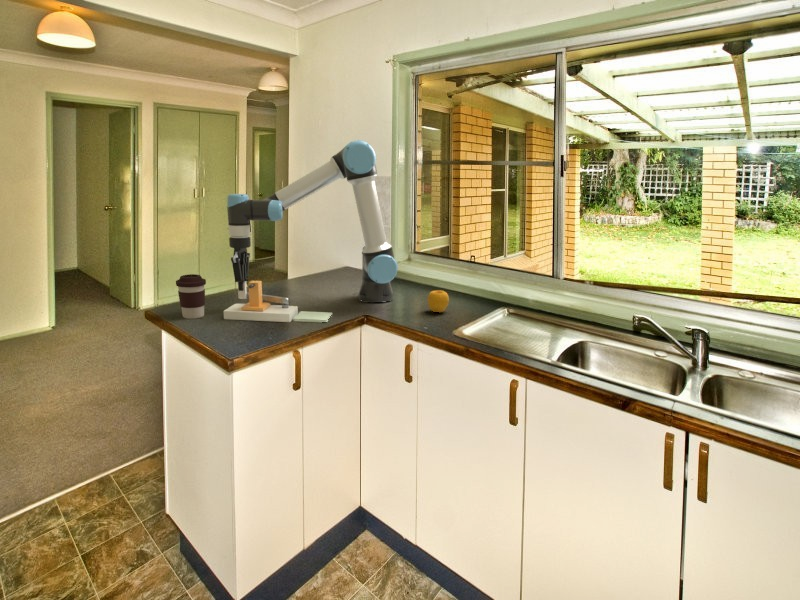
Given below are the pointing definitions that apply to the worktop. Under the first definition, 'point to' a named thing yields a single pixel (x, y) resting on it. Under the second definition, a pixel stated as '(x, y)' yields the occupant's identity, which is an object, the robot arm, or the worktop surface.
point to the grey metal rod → (273, 299)
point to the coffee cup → (191, 295)
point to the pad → (312, 316)
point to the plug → (255, 297)
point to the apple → (438, 301)
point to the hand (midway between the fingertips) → (242, 298)
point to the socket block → (262, 313)
